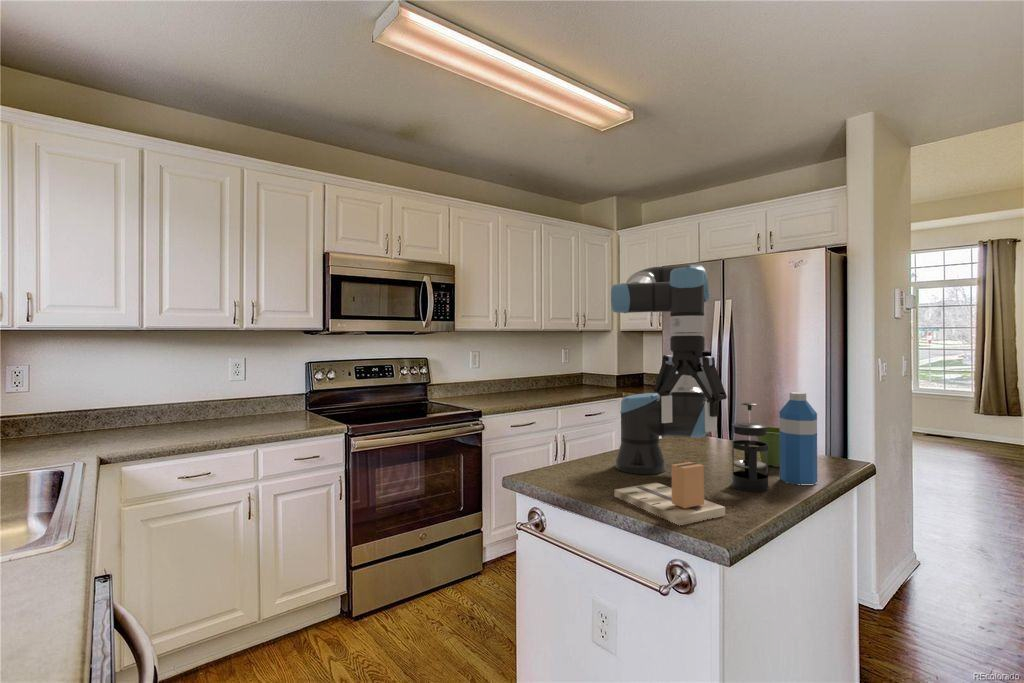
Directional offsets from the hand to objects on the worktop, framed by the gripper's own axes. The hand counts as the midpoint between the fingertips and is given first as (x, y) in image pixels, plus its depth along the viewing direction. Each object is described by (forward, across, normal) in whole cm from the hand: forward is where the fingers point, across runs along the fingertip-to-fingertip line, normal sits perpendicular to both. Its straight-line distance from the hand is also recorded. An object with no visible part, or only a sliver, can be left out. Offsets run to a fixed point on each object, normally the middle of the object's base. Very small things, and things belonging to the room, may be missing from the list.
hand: (687, 426), depth 120 cm
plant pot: (+20, -22, +59) cm, 66 cm away
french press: (+20, -9, +31) cm, 38 cm away
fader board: (+20, -7, 0) cm, 22 cm away
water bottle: (+20, -7, +48) cm, 53 cm away
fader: (+18, 0, 0) cm, 18 cm away
